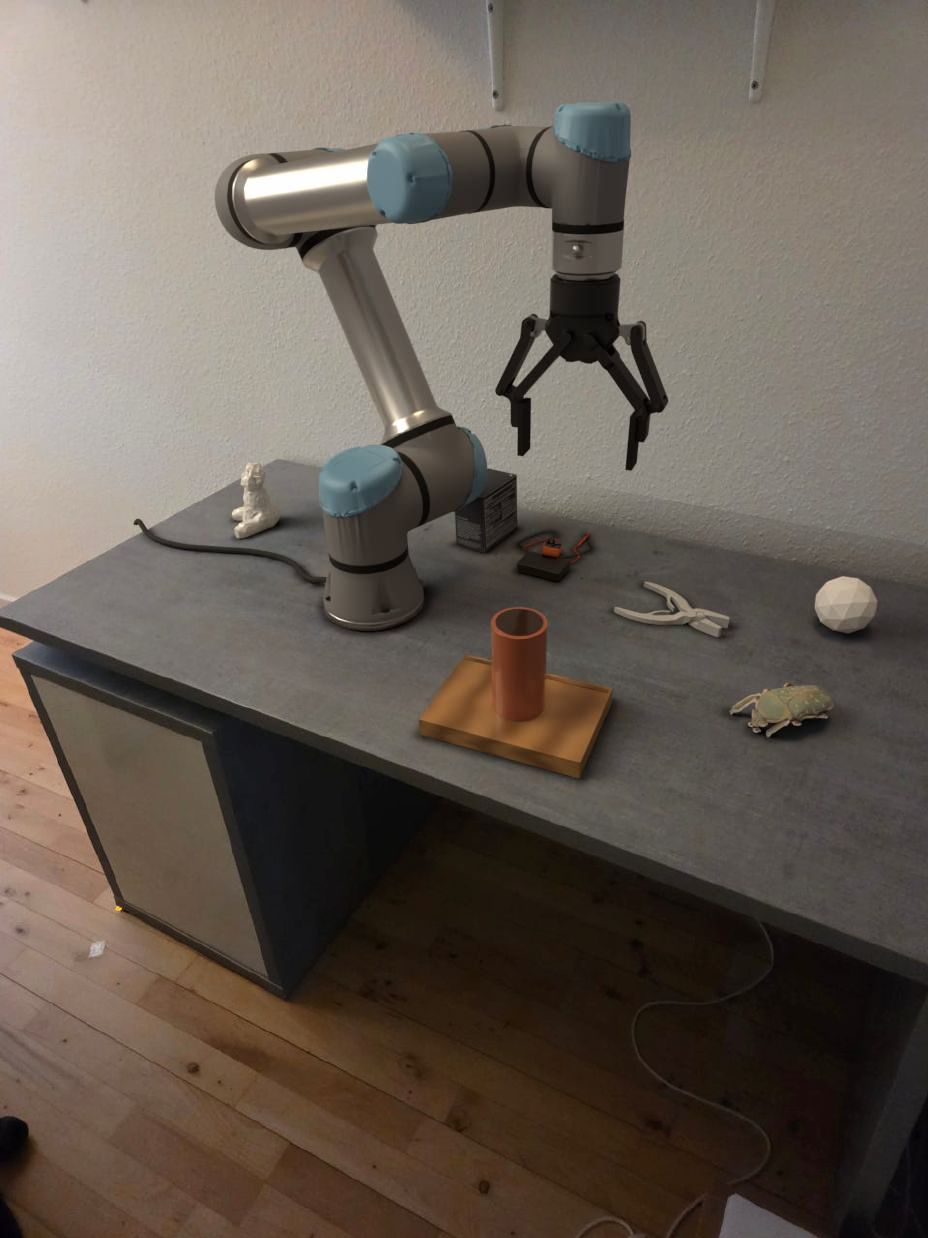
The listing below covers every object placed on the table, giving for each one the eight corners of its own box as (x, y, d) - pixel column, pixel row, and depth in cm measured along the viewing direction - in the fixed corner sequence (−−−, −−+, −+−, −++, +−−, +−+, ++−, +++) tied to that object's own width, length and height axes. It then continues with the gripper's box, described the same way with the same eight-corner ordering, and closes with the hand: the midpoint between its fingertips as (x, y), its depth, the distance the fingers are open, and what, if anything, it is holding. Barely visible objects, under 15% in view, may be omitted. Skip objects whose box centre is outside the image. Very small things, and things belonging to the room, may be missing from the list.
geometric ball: (821, 635, 115) (816, 580, 115) (883, 631, 110) (877, 574, 111) (812, 635, 108) (806, 578, 109) (877, 631, 104) (871, 570, 104)
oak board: (419, 734, 96) (418, 718, 94) (465, 669, 106) (465, 653, 105) (579, 779, 89) (580, 762, 87) (611, 704, 99) (612, 687, 98)
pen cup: (484, 713, 95) (482, 631, 88) (503, 682, 99) (502, 601, 93) (534, 726, 92) (536, 642, 86) (551, 694, 97) (555, 612, 91)
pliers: (646, 575, 122) (740, 607, 114) (645, 584, 123) (738, 616, 114) (613, 603, 115) (710, 639, 107) (613, 612, 116) (708, 648, 108)
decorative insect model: (738, 678, 101) (751, 652, 97) (824, 710, 98) (840, 685, 95) (724, 728, 95) (737, 702, 92) (814, 763, 93) (832, 739, 89)
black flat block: (546, 521, 141) (546, 504, 139) (607, 537, 136) (608, 520, 134) (491, 564, 129) (491, 546, 127) (556, 584, 123) (557, 565, 122)
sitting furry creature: (232, 517, 147) (219, 456, 140) (279, 510, 149) (268, 450, 142) (236, 540, 139) (222, 477, 133) (285, 532, 141) (274, 469, 135)
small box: (488, 520, 142) (487, 466, 137) (519, 529, 139) (519, 474, 133) (453, 544, 135) (451, 487, 130) (485, 554, 132) (484, 496, 126)
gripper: (465, 274, 86) (470, 457, 98) (697, 285, 78) (672, 485, 90) (490, 261, 92) (493, 436, 104) (709, 271, 83) (685, 460, 95)
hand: (576, 459), depth 97 cm, fingers open, 13 cm apart
